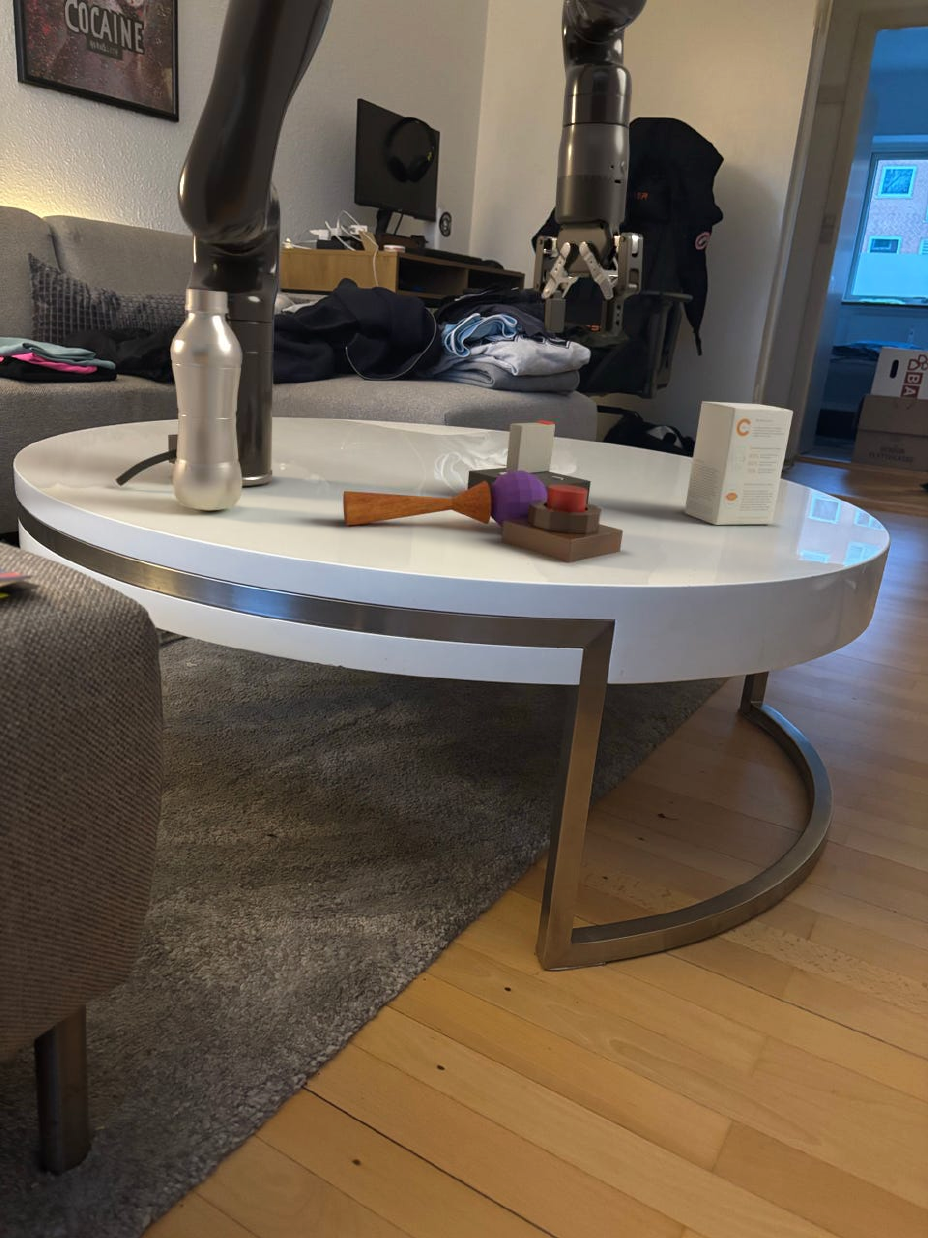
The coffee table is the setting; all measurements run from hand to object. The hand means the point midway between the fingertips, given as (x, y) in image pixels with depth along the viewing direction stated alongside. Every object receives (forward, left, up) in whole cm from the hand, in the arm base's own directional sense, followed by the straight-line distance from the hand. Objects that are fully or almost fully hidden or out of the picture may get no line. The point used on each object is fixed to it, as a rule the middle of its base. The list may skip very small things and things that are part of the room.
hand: (581, 334), depth 103 cm
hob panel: (-4, +2, -19) cm, 19 cm away
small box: (+11, -16, -19) cm, 27 cm away
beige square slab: (-3, +3, -16) cm, 16 cm away
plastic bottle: (-40, +12, -19) cm, 46 cm away
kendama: (-24, -5, -19) cm, 31 cm away
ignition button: (-19, -15, -15) cm, 29 cm away
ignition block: (-19, -15, -19) cm, 31 cm away
